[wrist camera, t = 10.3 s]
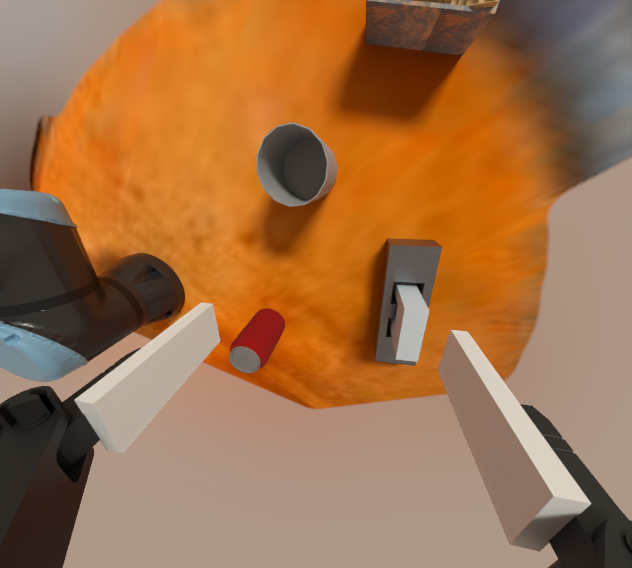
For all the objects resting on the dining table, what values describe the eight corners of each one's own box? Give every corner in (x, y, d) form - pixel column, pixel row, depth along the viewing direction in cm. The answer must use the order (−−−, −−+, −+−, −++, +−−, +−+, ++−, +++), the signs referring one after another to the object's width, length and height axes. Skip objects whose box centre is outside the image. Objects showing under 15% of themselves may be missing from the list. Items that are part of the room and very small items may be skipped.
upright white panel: (405, 321, 41) (417, 362, 32) (388, 319, 42) (395, 359, 33) (412, 278, 38) (429, 310, 29) (394, 277, 38) (404, 308, 29)
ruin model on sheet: (472, 21, 25) (531, -64, 16) (460, 57, 26) (508, -4, 18) (372, 10, 26) (376, -75, 17) (365, 45, 28) (366, -18, 19)
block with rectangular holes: (374, 346, 45) (375, 360, 42) (387, 238, 36) (389, 245, 32) (410, 350, 44) (415, 365, 40) (433, 240, 35) (441, 246, 31)
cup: (318, 210, 36) (304, 220, 27) (275, 181, 36) (246, 182, 27) (348, 159, 32) (342, 151, 24) (300, 126, 32) (276, 104, 23)
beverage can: (256, 330, 49) (227, 371, 39) (255, 304, 46) (222, 341, 36) (286, 335, 48) (264, 379, 38) (286, 309, 45) (262, 348, 35)
